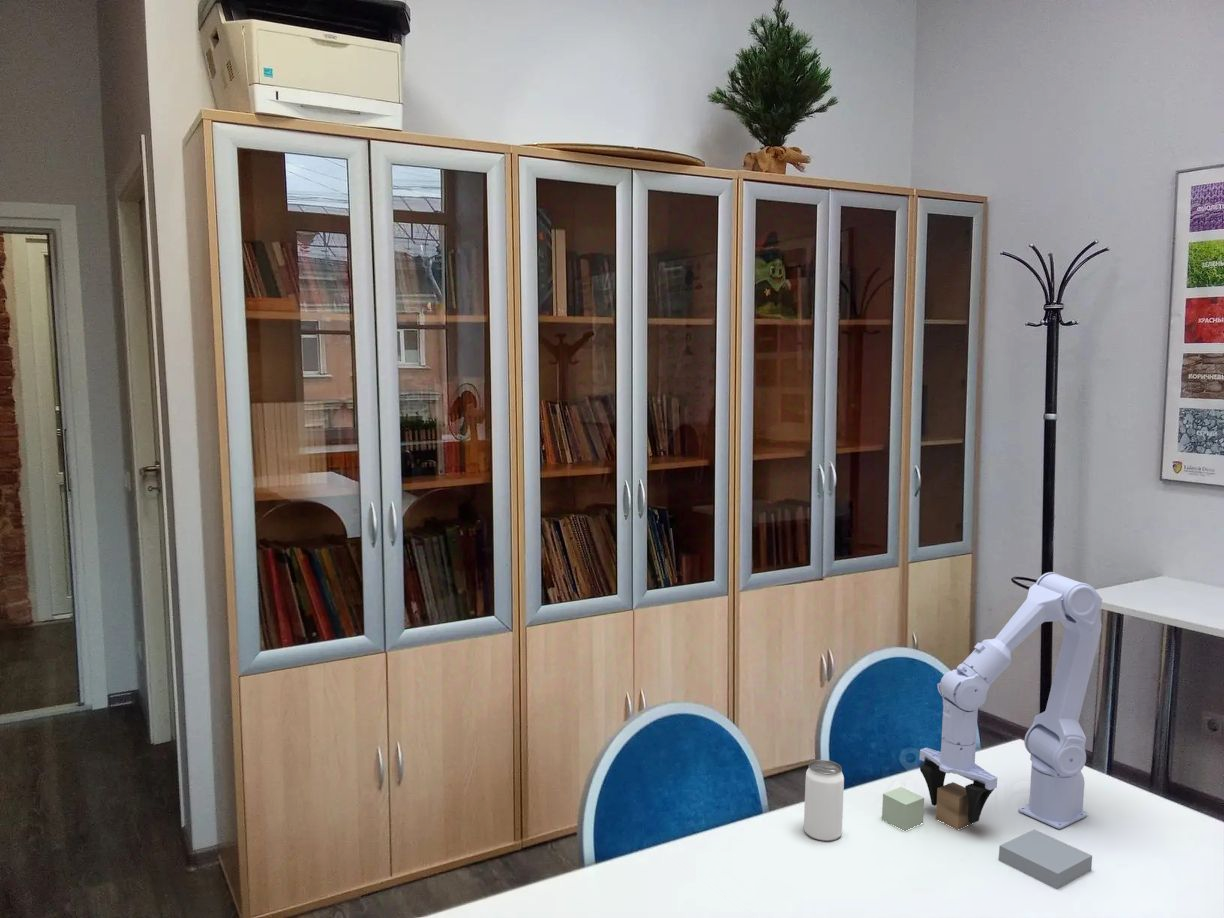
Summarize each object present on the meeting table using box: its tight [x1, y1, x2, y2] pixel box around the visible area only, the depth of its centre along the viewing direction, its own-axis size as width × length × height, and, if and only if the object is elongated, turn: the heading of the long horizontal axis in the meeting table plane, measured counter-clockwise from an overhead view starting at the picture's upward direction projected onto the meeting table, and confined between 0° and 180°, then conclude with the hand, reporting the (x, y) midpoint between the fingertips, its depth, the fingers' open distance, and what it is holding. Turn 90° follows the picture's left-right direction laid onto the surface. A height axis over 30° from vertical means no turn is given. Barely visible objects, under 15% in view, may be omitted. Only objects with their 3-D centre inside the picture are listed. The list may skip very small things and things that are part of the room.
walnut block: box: [935, 781, 973, 831], centre depth 162 cm, size 4×4×6 cm
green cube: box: [881, 786, 925, 832], centre depth 162 cm, size 5×5×5 cm
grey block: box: [998, 829, 1093, 890], centre depth 149 cm, size 10×10×3 cm
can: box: [803, 759, 845, 842], centre depth 158 cm, size 6×6×12 cm
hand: (954, 812), depth 162 cm, fingers open, 7 cm apart
